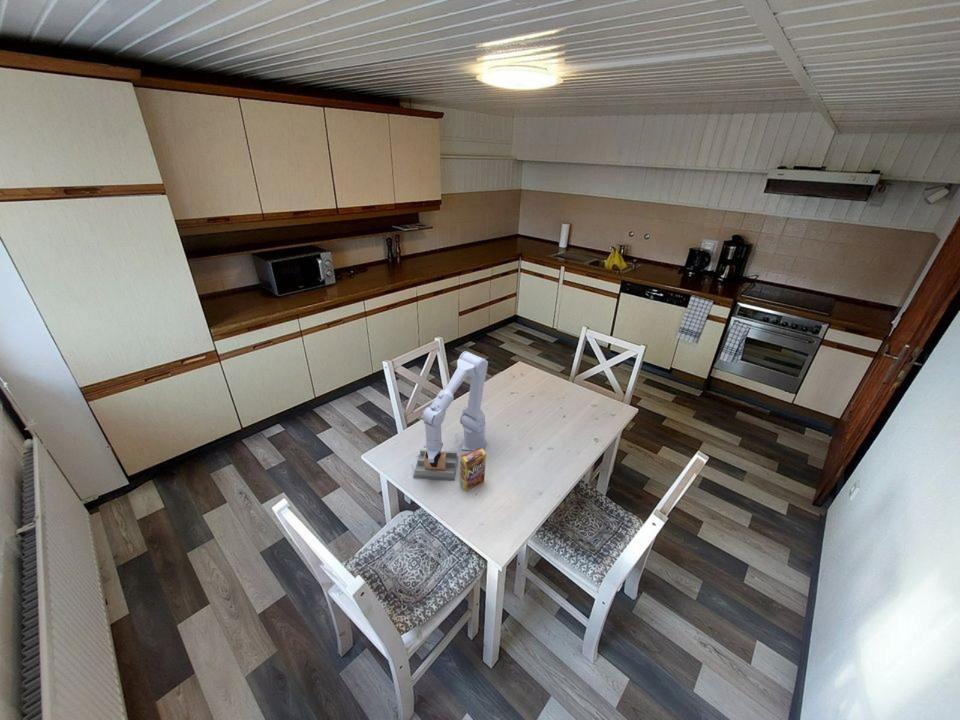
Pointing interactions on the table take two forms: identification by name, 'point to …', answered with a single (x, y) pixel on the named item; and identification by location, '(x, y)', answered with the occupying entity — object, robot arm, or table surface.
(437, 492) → the table surface
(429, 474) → the rack
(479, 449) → the candy box
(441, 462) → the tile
